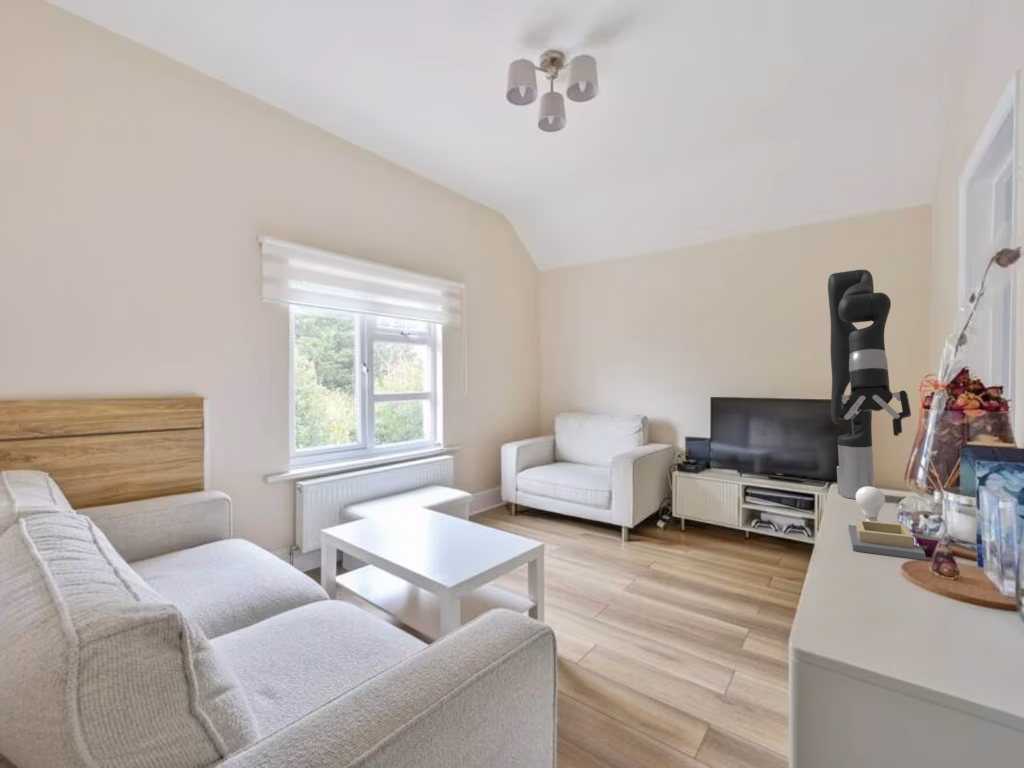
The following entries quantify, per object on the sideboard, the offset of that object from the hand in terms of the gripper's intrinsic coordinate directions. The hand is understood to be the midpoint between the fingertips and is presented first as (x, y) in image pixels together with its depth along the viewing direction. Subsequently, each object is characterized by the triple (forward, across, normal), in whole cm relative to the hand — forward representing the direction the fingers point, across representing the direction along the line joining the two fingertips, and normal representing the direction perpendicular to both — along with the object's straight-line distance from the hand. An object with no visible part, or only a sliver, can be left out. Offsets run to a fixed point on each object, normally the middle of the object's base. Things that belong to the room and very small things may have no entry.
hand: (873, 435), depth 109 cm
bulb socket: (+26, +1, -10) cm, 27 cm away
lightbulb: (+22, +5, -22) cm, 32 cm away
